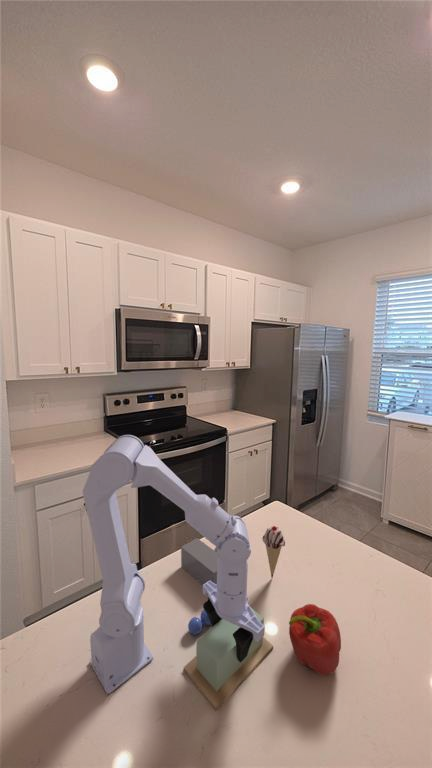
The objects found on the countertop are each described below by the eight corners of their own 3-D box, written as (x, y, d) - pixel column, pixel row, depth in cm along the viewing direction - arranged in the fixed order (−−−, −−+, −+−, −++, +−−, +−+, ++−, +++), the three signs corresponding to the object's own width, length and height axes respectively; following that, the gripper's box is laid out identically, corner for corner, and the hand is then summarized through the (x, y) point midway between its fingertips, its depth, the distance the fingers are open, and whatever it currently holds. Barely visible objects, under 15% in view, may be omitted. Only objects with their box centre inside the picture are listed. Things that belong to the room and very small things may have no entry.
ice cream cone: (284, 587, 80) (287, 533, 78) (262, 587, 81) (264, 532, 78) (280, 571, 86) (283, 520, 84) (259, 570, 86) (261, 519, 84)
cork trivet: (216, 710, 54) (216, 707, 54) (183, 669, 60) (183, 667, 60) (273, 648, 65) (273, 645, 65) (240, 619, 71) (240, 617, 71)
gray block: (229, 583, 82) (230, 562, 81) (213, 595, 78) (213, 573, 77) (196, 557, 91) (197, 538, 90) (181, 566, 87) (181, 546, 86)
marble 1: (194, 641, 66) (194, 629, 66) (185, 631, 68) (185, 619, 68) (205, 632, 68) (205, 620, 68) (196, 623, 70) (196, 611, 70)
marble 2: (206, 631, 68) (206, 619, 68) (197, 622, 71) (197, 610, 70) (216, 622, 70) (216, 610, 70) (207, 614, 73) (207, 602, 72)
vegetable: (298, 692, 57) (301, 644, 55) (276, 639, 67) (278, 597, 65) (352, 680, 59) (357, 634, 57) (323, 630, 69) (326, 589, 68)
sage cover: (216, 691, 56) (217, 662, 55) (196, 667, 60) (196, 640, 59) (262, 643, 65) (263, 618, 64) (242, 625, 69) (242, 601, 68)
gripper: (276, 594, 58) (272, 658, 60) (220, 554, 68) (219, 610, 70) (250, 618, 53) (248, 686, 55) (194, 570, 63) (194, 630, 65)
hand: (230, 645), depth 62 cm, fingers open, 6 cm apart
